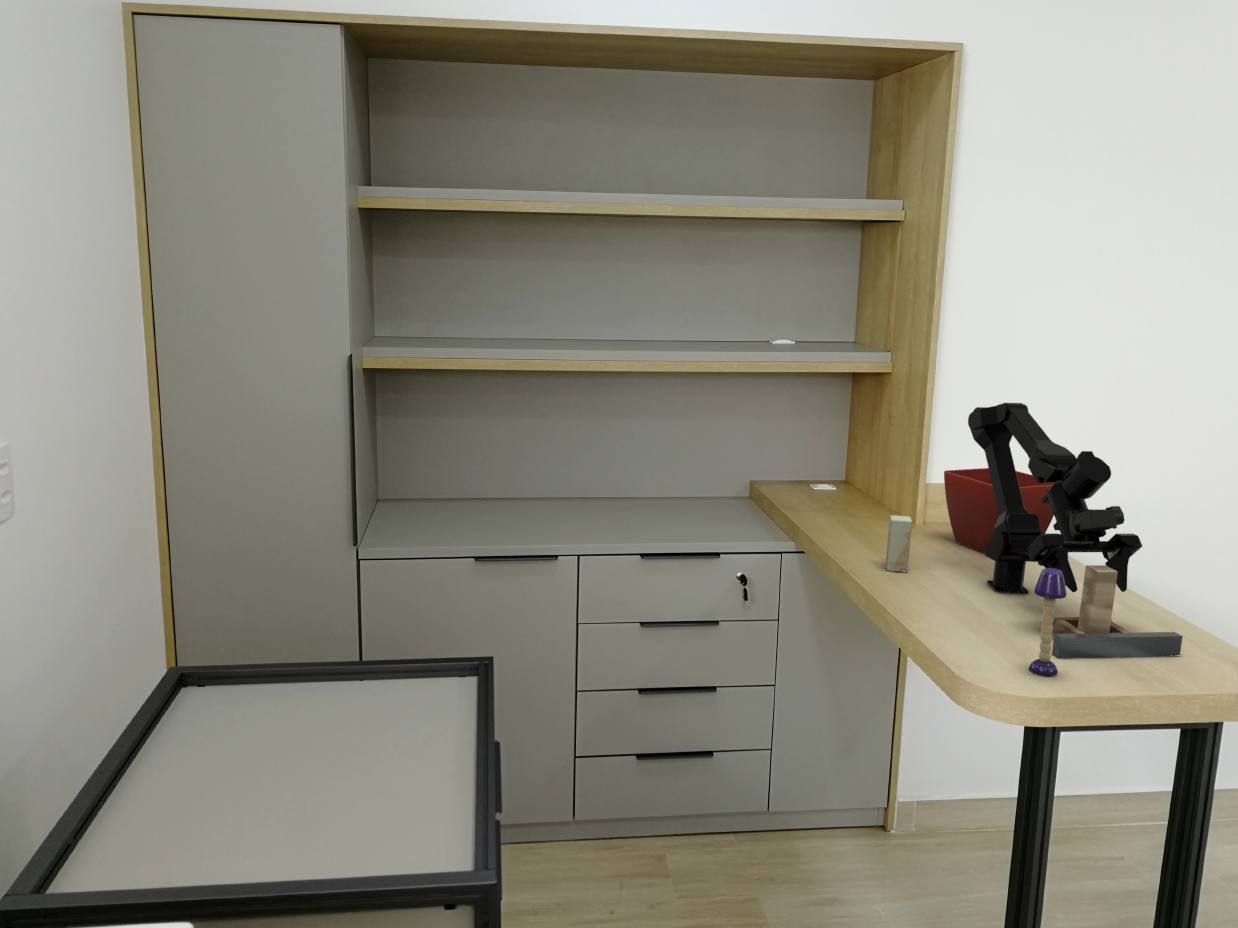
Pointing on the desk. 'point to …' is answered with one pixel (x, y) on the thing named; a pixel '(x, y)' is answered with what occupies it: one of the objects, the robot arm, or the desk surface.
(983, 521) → the plant pot
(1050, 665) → the toy lamp
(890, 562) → the box
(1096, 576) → the wooden square post
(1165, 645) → the rail
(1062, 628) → the collar
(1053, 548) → the robot arm
